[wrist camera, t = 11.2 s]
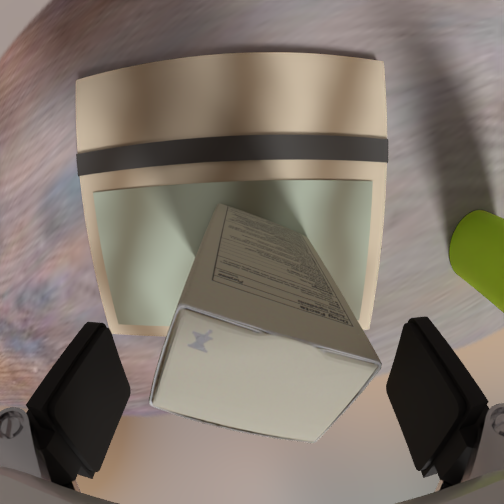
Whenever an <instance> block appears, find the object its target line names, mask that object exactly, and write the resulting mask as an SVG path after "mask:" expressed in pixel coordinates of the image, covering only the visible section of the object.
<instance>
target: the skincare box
mask: <svg viewBox="0 0 504 504" xmlns="http://www.w3.org/2000/svg"><path fill="white" fill-rule="evenodd" d="M381 365H382V364H381V362H380V359H379V358H378V356H377V354H376V352H375V350H374V349H373V347H372V345H371V343H370V342H369V340H368V338H367V336H366V335H365V333H364V331H363V329H362V328H361V326H360V324H359V322H358V321H357V319H356V317H355V315H354V314H353V312H352V310H351V309H350V307H349V305H348V303H347V301H346V300H345V298H344V296H343V295H342V293H341V291H340V290H339V288H338V286H337V285H336V283H335V281H334V280H333V278H332V276H331V274H330V273H329V271H328V270H327V268H326V266H325V265H324V263H323V261H322V260H321V258H320V257H319V255H318V253H317V252H316V250H315V248H314V247H313V245H312V244H311V242H310V240H309V239H308V237H306V236H304V235H302V234H300V233H298V232H295V231H293V230H291V229H288V228H286V227H284V226H281V225H279V224H276V223H274V222H271V221H269V220H266V219H263V218H261V217H258V216H256V215H253V214H250V213H247V212H244V211H242V210H239V209H236V208H233V207H230V206H227V205H224V204H221V203H218V204H217V206H216V208H215V211H214V213H213V215H212V218H211V220H210V222H209V225H208V227H207V229H206V232H205V234H204V237H203V239H202V242H201V244H200V247H199V249H198V252H197V254H196V257H195V259H194V262H193V265H192V267H191V270H190V273H189V275H188V278H187V280H186V283H185V286H184V289H183V291H182V294H181V297H180V299H179V302H178V305H177V308H176V310H175V313H174V316H173V319H172V322H171V324H170V327H169V330H168V333H167V336H166V339H165V342H164V345H163V348H162V351H161V355H160V358H159V361H158V364H157V368H156V371H155V375H154V379H153V383H152V388H151V393H150V397H149V404H150V405H151V406H152V407H155V408H157V409H160V410H163V411H166V412H169V413H172V414H175V415H178V416H181V417H184V418H187V419H191V420H194V421H197V422H201V423H204V424H209V425H213V426H216V427H221V428H225V429H229V430H233V431H238V432H243V433H248V434H253V435H258V436H264V437H270V438H277V439H284V440H292V441H300V442H308V443H315V442H317V441H318V440H319V439H320V438H321V437H322V435H323V434H324V433H325V432H326V431H327V430H328V429H329V428H330V427H331V426H332V425H333V424H334V423H335V422H336V421H337V420H338V419H339V418H340V417H341V416H342V415H343V414H344V413H345V411H346V410H347V409H348V408H349V407H350V405H351V404H352V403H353V402H354V401H355V400H356V399H357V398H358V396H359V395H360V394H361V393H362V392H363V390H364V389H365V388H366V387H367V385H368V384H369V383H370V382H371V380H372V379H373V378H374V377H375V375H376V374H377V373H378V372H379V370H380V369H381Z"/></svg>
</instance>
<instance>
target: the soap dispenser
mask: <svg viewBox="0 0 504 504" xmlns="http://www.w3.org/2000/svg"><path fill="white" fill-rule="evenodd" d="M449 257H450V263H451V266H452V268H453V270H454V271H455V273H456V274H457V275H459V276H460V277H461V278H462V279H464V280H465V281H466V282H467V283H469V284H470V285H471V286H472V287H474V288H475V289H476V290H477V291H479V292H480V293H481V294H482V295H483V296H485V297H486V298H487V299H488V300H489V301H491V302H492V303H493V304H494V305H495V306H496V307H498V308H499V309H500V310H501V311H502V312H503V313H504V219H503V218H501V217H498V216H496V215H494V214H491V213H489V212H487V211H484V210H476V211H473V212H471V213H469V214H467V215H466V216H465V217H464V218H463V219H462V220H461V221H460V223H459V224H458V226H457V227H456V229H455V231H454V233H453V236H452V239H451V243H450V249H449Z"/></svg>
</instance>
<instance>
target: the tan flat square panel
mask: <svg viewBox="0 0 504 504" xmlns="http://www.w3.org/2000/svg"><path fill="white" fill-rule="evenodd" d="M76 132H77V150H78V154H76V156H77V168H78V176H80V183H81V192H82V200H83V207H84V214H85V221H86V227H87V233H88V239H89V244H90V250H91V255H92V260H93V265H94V269H95V274H96V278H97V283H98V287H99V291H100V295H101V299H102V303H103V307H104V311H105V314H106V318H107V322H108V325H109V329H110V331H111V333H112V334H125V335H143V336H167V333H168V330H169V327H170V324H171V322H172V319H173V316H174V313H175V310H176V308H177V305H178V302H179V299H180V297H181V294H182V291H183V289H184V286H185V283H186V280H187V278H188V275H189V273H190V270H191V267H192V265H193V262H194V259H195V257H196V254H197V252H198V249H199V247H200V244H201V242H202V239H203V237H204V234H205V232H206V229H207V227H208V225H209V222H210V220H211V218H212V215H213V213H214V211H215V208H216V206H217V204H218V203H221V204H224V205H227V206H230V207H233V208H236V209H239V210H242V211H244V212H247V213H250V214H253V215H256V216H258V217H261V218H263V219H266V220H269V221H271V222H274V223H276V224H279V225H281V226H284V227H286V228H288V229H291V230H293V231H295V232H298V233H300V234H302V235H304V236H306V237H308V239H309V240H310V242H311V244H312V245H313V247H314V248H315V250H316V252H317V253H318V255H319V257H320V258H321V260H322V261H323V263H324V265H325V266H326V268H327V270H328V271H329V273H330V274H331V276H332V278H333V280H334V281H335V283H336V285H337V286H338V288H339V290H340V291H341V293H342V295H343V296H344V298H345V300H346V301H347V303H348V305H349V307H350V309H351V310H352V312H353V314H354V315H355V317H356V319H357V321H358V322H359V324H360V326H361V328H362V329H363V330H368V329H369V328H370V322H371V316H372V311H373V305H374V298H375V292H376V285H377V278H378V270H379V262H380V254H381V244H382V234H383V223H384V210H385V193H386V170H387V163H388V139H387V110H386V87H385V72H384V62H383V61H377V60H371V59H364V58H356V57H347V56H338V55H327V54H313V53H290V52H251V53H228V54H214V55H203V56H193V57H185V58H177V59H170V60H163V61H157V62H151V63H145V64H140V65H135V66H130V67H125V68H121V69H116V70H112V71H108V72H104V73H100V74H96V75H92V76H88V77H85V78H81V79H78V80H76Z"/></svg>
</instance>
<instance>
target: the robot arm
mask: <svg viewBox="0 0 504 504" xmlns="http://www.w3.org/2000/svg"><path fill="white" fill-rule="evenodd" d="M386 390H387V394H388V397H389V399H390V402H391V404H392V407H393V409H394V412H395V414H396V417H397V419H398V422H399V424H400V427H401V430H402V432H403V435H404V437H405V440H406V443H407V445H408V448H409V451H410V454H411V456H412V459H413V462H414V465H415V467H416V469H417V470H418V471H421V472H422V475H423V477H428V476H430V475H433V474H437V473H438V476H439V478H440V481H439V483H438V485H437V488H436V490H435V492H434V493H430V494H428V495H424V496H421V497H417V498H414V499H411V500H407V501H403V502H400V503H396V504H504V403H502V404H496V405H494V406H492V407H491V408H490V409H489V408H488V406H487V403H488V400H487V399H486V397H485V395H484V394H483V393H482V391H481V389H480V388H479V386H478V385H477V384H476V382H475V381H474V379H473V378H472V377H471V375H470V373H469V372H468V370H467V369H466V368H465V366H464V365H463V363H462V362H461V361H460V359H459V358H458V356H457V355H456V354H455V352H454V351H453V350H452V348H451V347H450V345H449V344H448V343H447V341H446V340H445V339H444V337H443V336H442V335H441V333H440V332H439V331H438V330H437V328H436V327H435V326H434V324H433V323H432V322H431V321H430V319H429V318H428V317H417V318H411V319H409V321H408V323H406V324H404V326H403V330H402V333H401V337H400V341H399V345H398V348H397V352H396V355H395V359H394V362H393V365H392V369H391V372H390V375H389V378H388V381H387V385H386ZM129 397H130V385H129V383H128V380H127V378H126V375H125V372H124V369H123V366H122V364H121V361H120V358H119V355H118V352H117V349H116V346H115V343H114V340H113V336H112V333H111V331H110V329H109V328H107V327H106V325H105V324H103V323H96V322H87V323H86V324H85V325H84V326H83V328H82V329H81V330H80V331H79V333H78V334H77V335H76V336H75V338H74V339H73V340H72V342H71V343H70V344H69V346H68V347H67V348H66V350H65V351H64V352H63V354H62V355H61V356H60V358H59V359H58V360H57V362H56V363H55V364H54V366H53V367H52V368H51V370H50V371H49V373H48V374H47V375H46V377H45V378H44V380H43V381H42V382H41V384H40V385H39V387H38V388H37V390H36V391H35V392H34V394H33V395H32V397H31V398H30V400H29V401H28V403H27V404H26V406H27V407H28V409H29V410H28V411H27V413H25V411H24V410H22V409H20V408H16V407H11V408H6V409H4V410H2V411H1V412H0V504H118V503H114V502H110V501H107V500H104V499H100V498H96V497H93V496H90V495H87V494H84V493H81V492H80V489H79V487H78V484H77V482H76V477H77V474H79V475H82V476H85V477H88V478H91V479H93V476H94V473H95V472H98V471H99V470H100V468H101V466H102V463H103V460H104V458H105V455H106V453H107V450H108V448H109V445H110V443H111V440H112V438H113V435H114V433H115V430H116V428H117V425H118V423H119V421H120V418H121V416H122V413H123V411H124V409H125V406H126V404H127V401H128V399H129Z"/></svg>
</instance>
